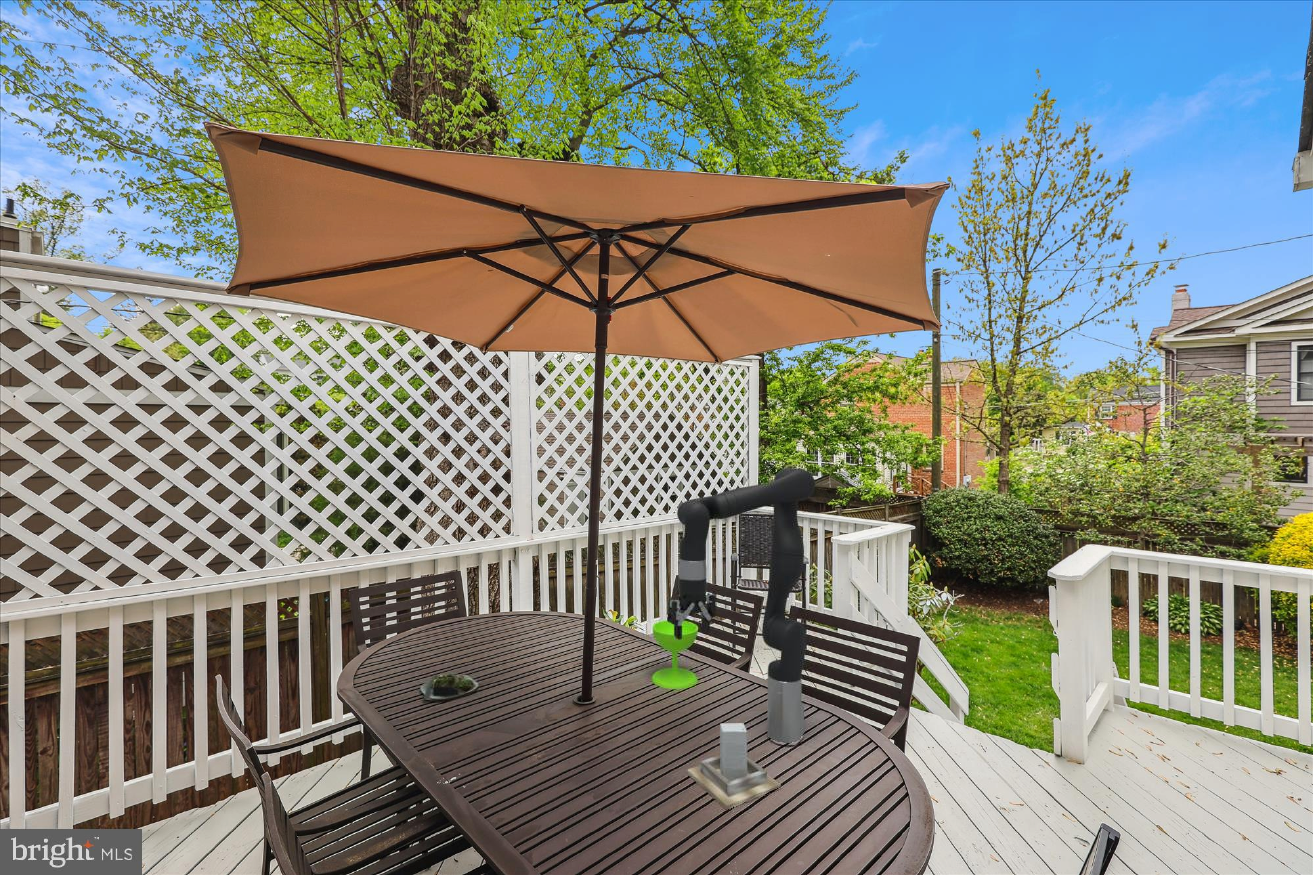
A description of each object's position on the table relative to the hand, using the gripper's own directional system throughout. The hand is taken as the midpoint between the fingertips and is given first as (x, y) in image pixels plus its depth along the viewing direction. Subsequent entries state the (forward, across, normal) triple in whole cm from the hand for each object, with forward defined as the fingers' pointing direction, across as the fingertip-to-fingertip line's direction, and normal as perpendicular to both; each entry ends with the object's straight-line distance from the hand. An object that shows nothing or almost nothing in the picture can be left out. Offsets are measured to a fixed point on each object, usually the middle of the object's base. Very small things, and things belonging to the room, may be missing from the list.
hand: (691, 636), depth 149 cm
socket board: (+30, -1, +17) cm, 35 cm away
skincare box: (+29, -1, +17) cm, 34 cm away
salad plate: (+31, +50, -68) cm, 90 cm away
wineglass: (+30, -20, -40) cm, 54 cm away
